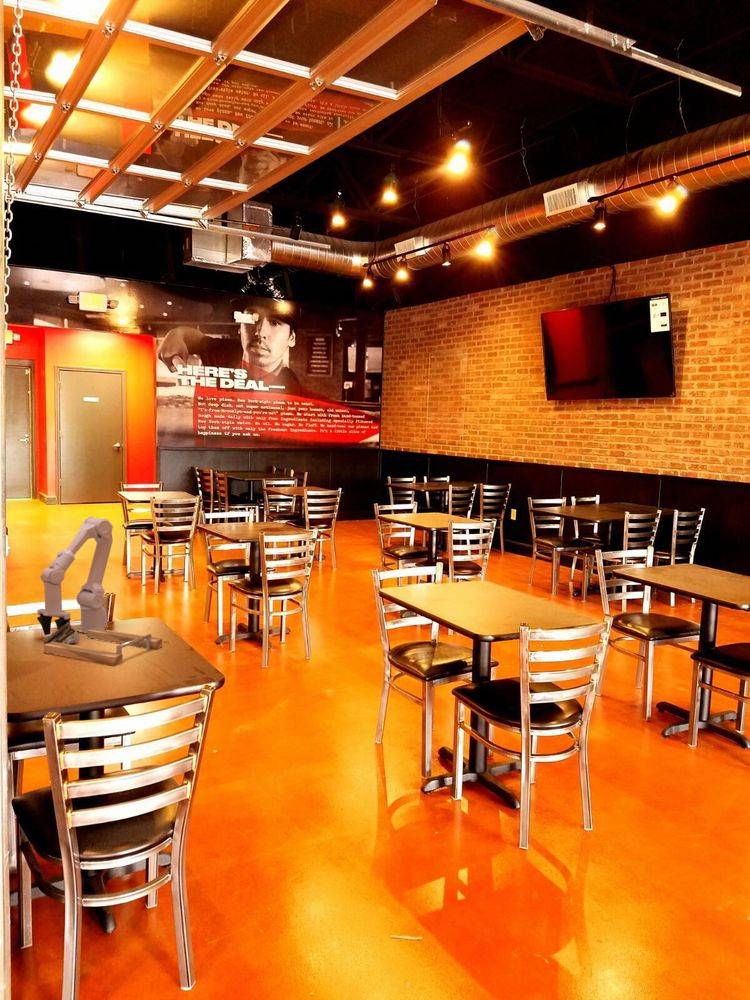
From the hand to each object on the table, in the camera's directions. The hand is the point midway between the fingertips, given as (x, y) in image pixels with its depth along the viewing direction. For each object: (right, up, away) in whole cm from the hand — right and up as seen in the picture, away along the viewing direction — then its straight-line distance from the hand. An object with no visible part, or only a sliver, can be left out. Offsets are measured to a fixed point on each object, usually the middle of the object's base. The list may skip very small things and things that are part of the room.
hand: (54, 635), depth 275 cm
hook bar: (+35, -4, -17) cm, 39 cm away
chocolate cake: (+6, -3, -5) cm, 8 cm away
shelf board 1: (+18, -4, -20) cm, 27 cm away
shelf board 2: (+27, -2, -2) cm, 27 cm away
